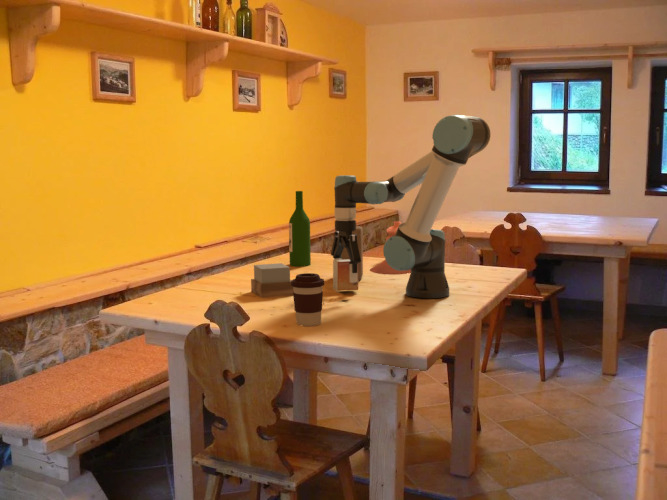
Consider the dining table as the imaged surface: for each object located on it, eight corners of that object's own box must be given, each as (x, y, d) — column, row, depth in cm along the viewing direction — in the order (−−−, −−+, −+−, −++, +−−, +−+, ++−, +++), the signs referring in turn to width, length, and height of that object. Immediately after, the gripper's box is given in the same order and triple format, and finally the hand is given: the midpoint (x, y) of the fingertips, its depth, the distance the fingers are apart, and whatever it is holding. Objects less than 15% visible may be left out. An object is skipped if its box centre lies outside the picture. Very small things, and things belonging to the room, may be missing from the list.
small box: (337, 291, 258) (336, 261, 257) (332, 288, 264) (332, 259, 262) (358, 290, 260) (358, 260, 259) (354, 287, 266) (354, 258, 264)
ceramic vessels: (416, 276, 289) (416, 228, 287) (363, 275, 293) (362, 228, 291) (422, 263, 324) (422, 220, 321) (374, 262, 328) (374, 220, 325)
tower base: (295, 296, 252) (295, 281, 252) (261, 299, 248) (261, 284, 247) (283, 290, 263) (283, 276, 263) (251, 293, 259) (251, 279, 258)
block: (362, 276, 290) (362, 225, 287) (361, 280, 280) (361, 228, 278) (337, 276, 291) (337, 225, 288) (335, 280, 281) (334, 228, 279)
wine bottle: (287, 266, 317) (286, 190, 313) (307, 265, 320) (306, 190, 316) (292, 269, 309) (291, 191, 305) (313, 268, 312) (312, 191, 308)
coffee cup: (324, 319, 227) (323, 271, 225) (325, 327, 217) (324, 277, 215) (292, 320, 227) (291, 272, 225) (291, 328, 217) (290, 278, 215)
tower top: (290, 281, 252) (289, 267, 251) (261, 283, 248) (261, 269, 248) (281, 277, 261) (281, 263, 260) (254, 279, 257) (253, 265, 257)
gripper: (370, 222, 249) (370, 283, 252) (340, 216, 272) (340, 273, 274) (350, 222, 246) (350, 285, 249) (321, 217, 269) (322, 274, 272)
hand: (345, 279), depth 262 cm, fingers open, 13 cm apart
